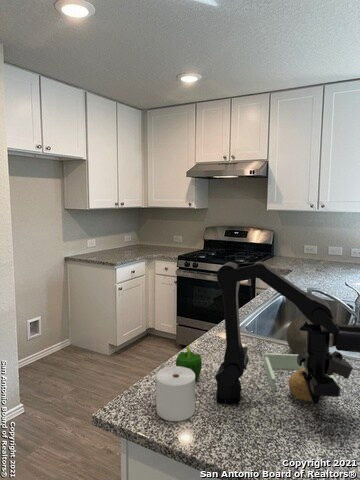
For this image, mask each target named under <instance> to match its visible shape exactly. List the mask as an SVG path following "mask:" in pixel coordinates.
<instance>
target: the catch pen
mask: <svg viewBox="0 0 360 480" xmlns="http://www.w3.org/2000/svg"><path fill="white" fill-rule="evenodd" d="M297 356H298V355H297V354H294V353H271V352H264V361H263V362H264V363H263V364H264V365H263V367H264V370H265V373H266V377H267V380H268V383H269V386H270V387H269V388H270V390H271V392H273V393H275V392H276V386H277V385H276V382H277V381H276V376H275V374H274V371H273V369H275V370H278V369H279V370H295V371H298V370H300V369H302V368H304V365H303V362H302V366H299V365H298V363H297ZM326 375H327V374H326ZM328 376H329V378H333V379H334V380H335V381H336V383H337V384H338V385H339V382H338V380H337V379H336V377H335V376H334V374H333V375H328Z"/></svg>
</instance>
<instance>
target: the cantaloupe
mask: <svg viewBox="0 0 360 480" xmlns="http://www.w3.org/2000/svg"><path fill="white" fill-rule="evenodd" d="M305 320H307V321H308V322H309V323H312V322H310V321H309V320H308V319H307V318H306V317H305V316H304V315H302V316H298V317H296V318H294V319H293V320H292V321H291V322H290V323H289V325H288V326H287V330H286V341H287V344H288V347H289V348H290V350H291V352H292V354H297V355H299V354H300V353H305V351H304V347H306V332H307V331H301V330H300V329H299V325H300V324H301V323H303V322H304V321H305ZM322 327H323V326H322ZM305 354H306V353H305Z"/></svg>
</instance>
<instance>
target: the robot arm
mask: <svg viewBox="0 0 360 480" xmlns="http://www.w3.org/2000/svg"><path fill="white" fill-rule="evenodd" d="M216 279H217V283H218V288H219V291H220V292H221V295H222V300H223V310H224V314H223V315H224V328H225V343H226V344H225V351H224V355H223V356H224V357H223V362H221V363H220V366H219V367H218V369H217V372H216V374H215V375H214V378H215V381H216V390H215V391H216V393H215V394H216V397H215V398H216V401H215V403H216V404H224V405H225V404H226V405H240V400H241V398H242V383H241V380H240V378H241V377H242V376H243V375H244V372H245V370H247V367H248V363H249V360H250V358H249V355H248V346H243V343H242V341H241V324H240V310H239V308H240V307H239V289H240V285H241V282H243V281H249V280H251V279H252V280H253V279H259V280H261V281H262V282H263V283H265V284H266V285H267V286H268V287H270V288H272V289H273V290H274V291H276V292H277V293H278V294H280V295H281V296H283V297H284V298H286V299H287V300H289V302H291V303H292V304H293V305H294V306H295V307H296V308H297V309H298V310H299V311H300V312H301V313H302V316H305V317H306V318H307V319H308V320H309V321H310V322H312V323H309V322H308V321H307V320H305V321H304V322H303V323H301V324H300V325H299V329H300V330H301V331H307V332H306V347H304V351H305V353H306V354H305V353H300V354H299V355H298V356H297V363H298V365H299V366H302V362H303V365H304V368H305V372H302V375H303V377H304V380H305V382H306V385H307V388H308V390H309V393H310V396H311V398H312V403H313V405H319V402H320V400H321V398H322V397H334V398H335V397H336V398H339V397H340V396H341V386H339V383H338V384H337V383H336V381H335V380H334V379H333V378H329V376H328V375H333V376H334V374H335V375H338V376H340V377H343V378H344V379H346V380H348V379H349V378H350V376H351V373H352V371H353V368H354V367H353V366H352V364H351V363H350V362H349V361H347V360H346V359H344V358H343V354H342V353H341V351H342V352H349V353H359V354H360V324H344V323H343V324H342V323H338V322H337V319H336V318H334V317H333V314H332V311H331V308H330V304H329V303H328V302H327V300H325V299H323V298H321V297H319V296H317V295H315V294H312V293H309V292H308V291H305V290H303V289H301V288H300V287H298V286H296V285H295V284H294V283H292V282H291V281H290V280H288V279H287V278H285V277H284V276H283V275H281V274H280V273H278V272H277V271H275V270H274V269H272V268H271V267H270V266H269V265H267V263H265V262H264V261H261V260H259V261H255V262H242V263H235V262H233V261H228V262H225V263H224V264H222V265H221V266H220V267H219V269H218V270H217V272H216ZM322 326H323V327H322ZM330 336H331V338H330ZM330 339H331V346H333V347H335V351H333V352H332V353H331V352H330ZM339 351H340V352H339ZM326 374H327V375H326Z"/></svg>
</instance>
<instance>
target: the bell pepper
mask: <svg viewBox="0 0 360 480" xmlns="http://www.w3.org/2000/svg"><path fill="white" fill-rule="evenodd" d="M185 349H186V352H185V351H184V352H183V351H181V352H179V353H178V355H177V357H176V359H175V366H180V367H185V368H189V369H191V370H192V371H193V372H194V373H195V382H196V381H197V380H198V379H199V378H200V375H201V371H202V366H203V364H202V363H203V362H202V357H201V354H199V353H195V352H193V351H191V348H190V346H186V347H185Z"/></svg>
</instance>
